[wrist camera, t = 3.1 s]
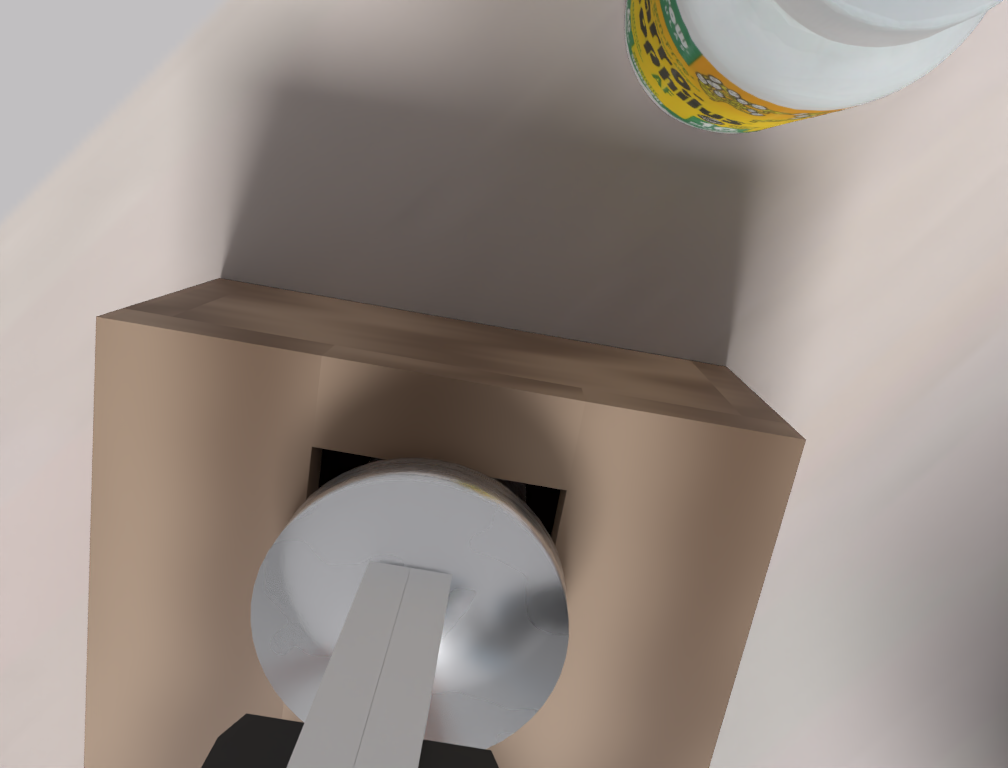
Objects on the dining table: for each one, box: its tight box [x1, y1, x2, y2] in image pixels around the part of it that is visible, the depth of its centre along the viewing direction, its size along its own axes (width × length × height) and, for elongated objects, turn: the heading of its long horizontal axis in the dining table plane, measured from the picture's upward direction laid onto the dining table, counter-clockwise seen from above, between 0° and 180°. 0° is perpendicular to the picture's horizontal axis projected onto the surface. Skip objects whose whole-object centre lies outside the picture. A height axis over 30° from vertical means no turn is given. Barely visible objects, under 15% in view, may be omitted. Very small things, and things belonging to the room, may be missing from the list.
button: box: [251, 457, 569, 749], centre depth 17 cm, size 6×6×7 cm
